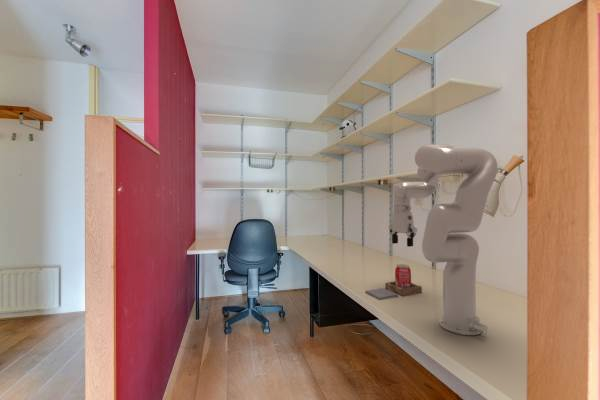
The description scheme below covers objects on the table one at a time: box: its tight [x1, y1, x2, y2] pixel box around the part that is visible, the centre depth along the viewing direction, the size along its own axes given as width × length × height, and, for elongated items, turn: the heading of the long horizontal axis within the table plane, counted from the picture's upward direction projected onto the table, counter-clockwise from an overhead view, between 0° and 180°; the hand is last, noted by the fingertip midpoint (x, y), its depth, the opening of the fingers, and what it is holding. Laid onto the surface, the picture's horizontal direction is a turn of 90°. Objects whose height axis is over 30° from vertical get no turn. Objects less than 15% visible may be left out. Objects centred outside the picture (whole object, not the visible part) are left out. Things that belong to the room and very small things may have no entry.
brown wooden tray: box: [384, 280, 423, 297], centre depth 128 cm, size 11×11×3 cm
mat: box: [365, 287, 399, 301], centre depth 123 cm, size 10×10×1 cm
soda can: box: [394, 263, 412, 288], centre depth 128 cm, size 7×7×12 cm
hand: (402, 244), depth 128 cm, fingers open, 9 cm apart
